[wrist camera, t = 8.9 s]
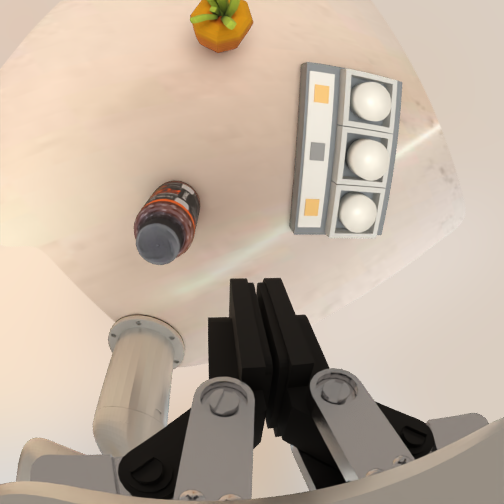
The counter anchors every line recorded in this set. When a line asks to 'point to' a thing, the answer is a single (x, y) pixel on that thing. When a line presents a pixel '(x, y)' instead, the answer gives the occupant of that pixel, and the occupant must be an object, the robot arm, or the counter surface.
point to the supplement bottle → (167, 223)
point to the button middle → (368, 159)
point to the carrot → (221, 23)
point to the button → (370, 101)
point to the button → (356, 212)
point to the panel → (337, 150)
